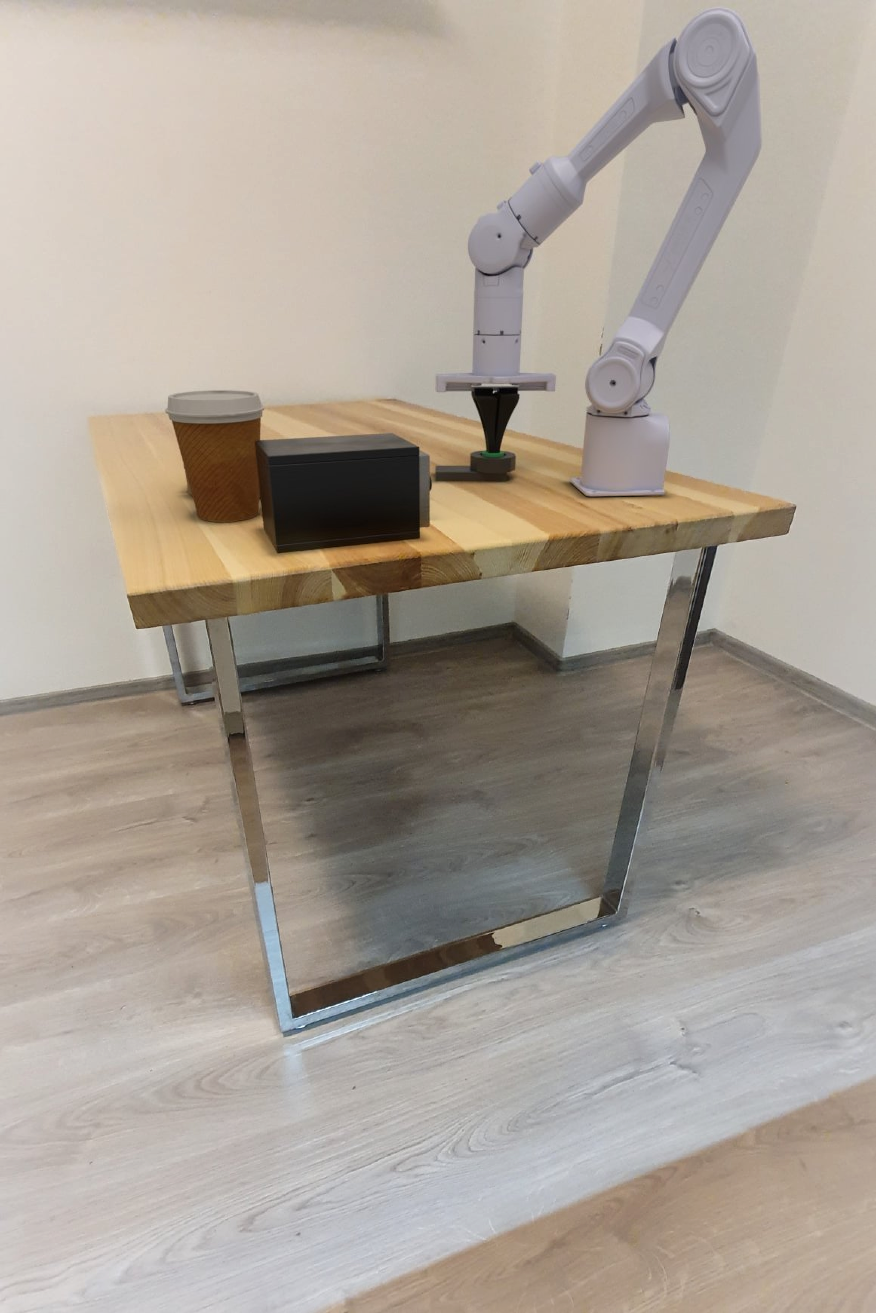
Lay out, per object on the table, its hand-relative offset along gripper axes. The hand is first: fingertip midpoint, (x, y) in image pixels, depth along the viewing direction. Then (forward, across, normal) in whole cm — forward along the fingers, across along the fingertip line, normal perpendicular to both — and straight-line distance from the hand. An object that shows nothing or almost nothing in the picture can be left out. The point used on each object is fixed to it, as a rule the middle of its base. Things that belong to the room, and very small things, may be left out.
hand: (492, 452), depth 92 cm
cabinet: (+3, -19, -23) cm, 30 cm away
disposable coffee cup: (+3, -31, -15) cm, 35 cm away
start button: (+2, 0, 0) cm, 2 cm away
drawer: (+2, -17, -23) cm, 28 cm away
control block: (+3, -3, 0) cm, 4 cm away
